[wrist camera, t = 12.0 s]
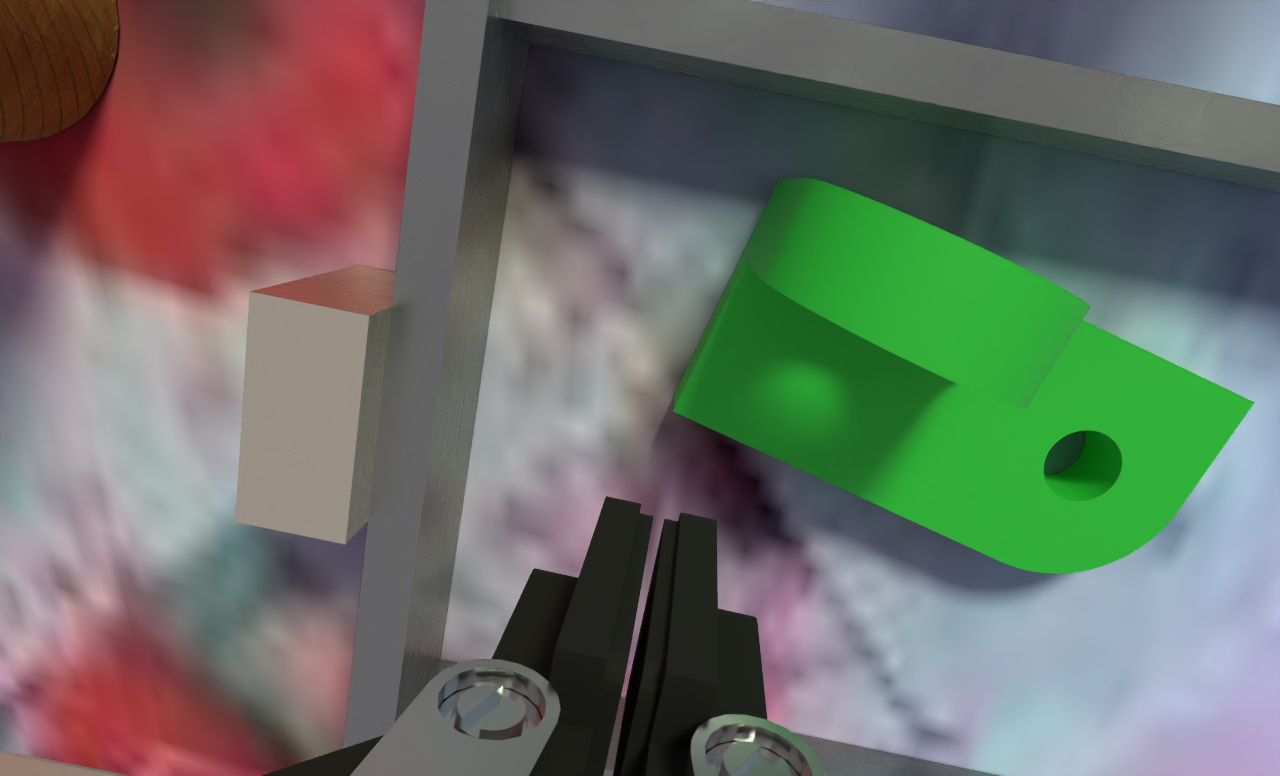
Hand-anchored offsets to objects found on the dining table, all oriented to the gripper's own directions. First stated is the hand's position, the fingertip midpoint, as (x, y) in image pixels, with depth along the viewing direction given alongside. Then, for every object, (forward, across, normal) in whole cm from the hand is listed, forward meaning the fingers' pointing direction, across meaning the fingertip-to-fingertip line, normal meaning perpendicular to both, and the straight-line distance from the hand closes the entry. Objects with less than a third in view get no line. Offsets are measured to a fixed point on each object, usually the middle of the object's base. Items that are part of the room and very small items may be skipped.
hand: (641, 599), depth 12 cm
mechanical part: (+10, -6, -2) cm, 12 cm away
